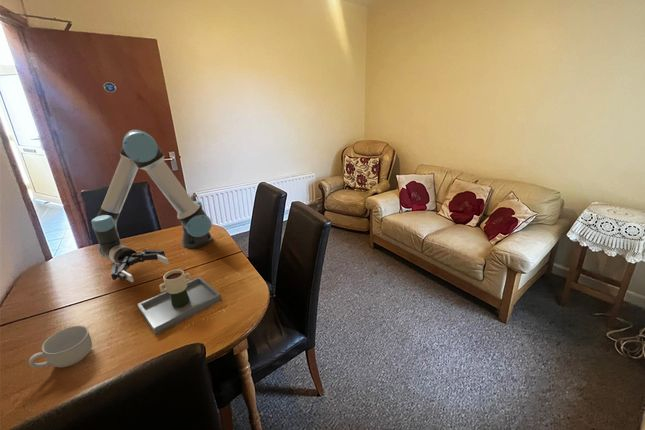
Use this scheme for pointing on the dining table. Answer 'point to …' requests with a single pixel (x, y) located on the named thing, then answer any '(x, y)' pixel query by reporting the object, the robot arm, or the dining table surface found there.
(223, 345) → the dining table surface
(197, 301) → the tray
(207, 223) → the robot arm
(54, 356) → the teacup
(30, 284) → the dining table surface
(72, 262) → the dining table surface
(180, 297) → the character mug
